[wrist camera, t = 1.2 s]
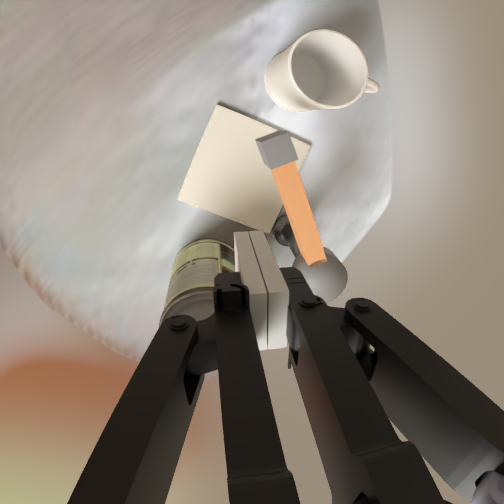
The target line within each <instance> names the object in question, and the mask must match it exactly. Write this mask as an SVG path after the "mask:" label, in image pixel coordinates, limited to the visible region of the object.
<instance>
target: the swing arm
mask: <svg viewBox="0 0 504 504" xmlns="http://www.w3.org/2000/svg"><path fill="white" fill-rule="evenodd" d="M255 141H256V144H257V146H258V149H259V152H260V154H261V157H262V159H263V162H264V164H265V165H266V166H267V167H269V168H270V170H271V173H272V175H273V178H274V181H275V183H276V186H277V189H278V191H279V194H280V197H281V200H282V202H283V205H284V208H285V211H286V213H287V216H288V219H289V222H290V225H291V227H292V230H293V233H294V236H295V239H296V242H297V244H298V247H299V250H300V254H299V255H298V256H297V257H296V259H295V260H294V262H293V265H292V267H295V268H297V269H298V270H300V271H301V272H302V274H303V276H304V278H305V279H306V281H307V283H308V285H309V287H310V288H311V290H312V292H313V294H314V295H317V296H319V297H321V298H322V299H323V300H324V301H325V302H326V303H328V302H330V301H333V300H334V299H336V298H337V297H338V296H339V295H340V294H341V293H342V292H343V290H344V288H345V287H346V284H347V271H346V269H345V267H344V266H343V265H342V263H341V262H340V261H339V259H338V258H337V257H336V256H335V255H334V253H333V252H332V251H331V250H329V249H327V248H325V247H323V246H322V243H321V239H320V236H319V233H318V230H317V227H316V223H315V220H314V217H313V214H312V211H311V208H310V205H309V202H308V199H307V196H306V193H305V190H304V187H303V184H302V181H301V178H300V175H299V172H298V169H297V167H296V164H295V161H296V160H298V156H297V154H296V151H295V148H294V145H293V142H292V140H291V137H290V134H289V132H286V131H281V130H279V131H276V132H273V133H271V134H268V135H265V136H263V137H260V138H257V139H255Z"/></svg>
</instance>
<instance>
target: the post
mask: <svg viewBox="0 0 504 504" xmlns="http://www.w3.org/2000/svg"><path fill="white" fill-rule="evenodd" d="M273 232H274V236H275V238H276V240H277V241H278V242H279V243H280V244H281V245H283V246H289V247H290V249H291V251H292V253H293V254H294V256H295V258H296V257H297V256H298V255H299V254H300V250H299V247H298V244H297V242H296V239H295V236H294V233H293V230H292V227H291V225H290V222H289V219H288V216H287V215H284V216H282V217H280V218H279V219H278V220H277V221H276V223H275V225H274V229H273Z"/></svg>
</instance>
